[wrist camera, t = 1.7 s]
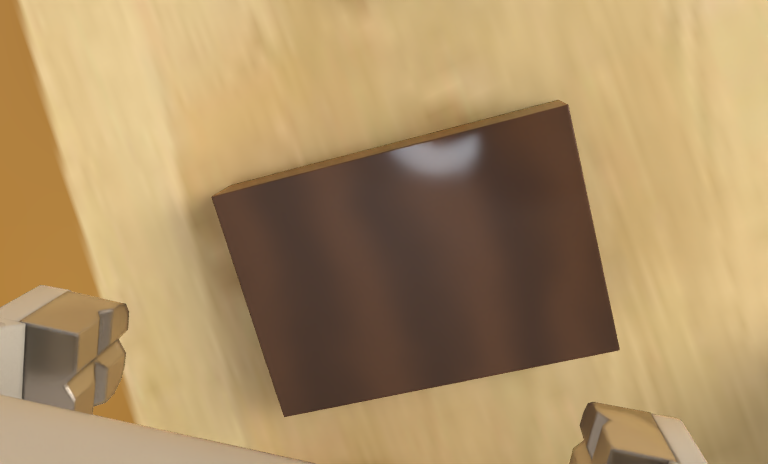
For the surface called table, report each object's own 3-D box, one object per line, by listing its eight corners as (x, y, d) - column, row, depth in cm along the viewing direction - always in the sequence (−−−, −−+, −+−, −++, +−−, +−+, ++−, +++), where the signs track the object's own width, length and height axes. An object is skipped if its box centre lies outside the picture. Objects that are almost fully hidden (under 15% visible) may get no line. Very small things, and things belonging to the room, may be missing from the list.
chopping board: (559, 99, 40) (568, 104, 36) (607, 326, 43) (619, 350, 39) (230, 185, 43) (211, 196, 40) (296, 390, 46) (283, 417, 43)
